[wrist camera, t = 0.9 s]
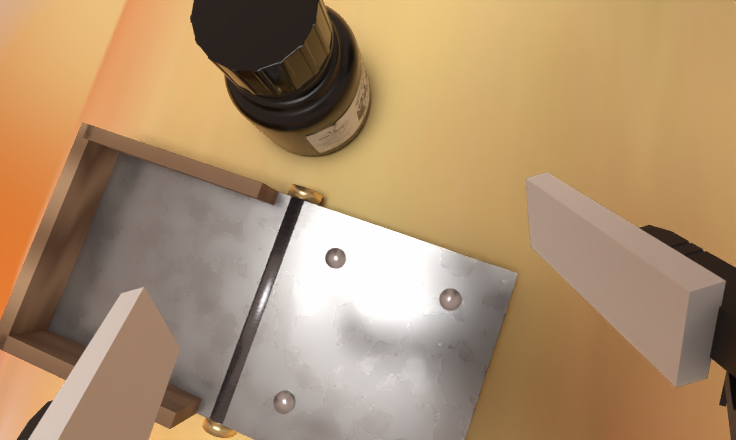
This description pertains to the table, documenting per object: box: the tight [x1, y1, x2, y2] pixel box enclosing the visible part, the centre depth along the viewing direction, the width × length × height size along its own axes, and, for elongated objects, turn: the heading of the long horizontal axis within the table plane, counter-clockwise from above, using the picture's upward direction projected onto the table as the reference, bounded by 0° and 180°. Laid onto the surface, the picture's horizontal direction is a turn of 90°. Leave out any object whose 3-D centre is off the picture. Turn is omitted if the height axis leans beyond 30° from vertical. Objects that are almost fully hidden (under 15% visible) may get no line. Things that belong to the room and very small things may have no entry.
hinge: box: [48, 152, 518, 440], centre depth 30 cm, size 18×31×3 cm, turn 70°
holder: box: [0, 122, 279, 429], centre depth 29 cm, size 16×14×3 cm
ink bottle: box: [190, 0, 370, 156], centre depth 27 cm, size 10×9×12 cm
